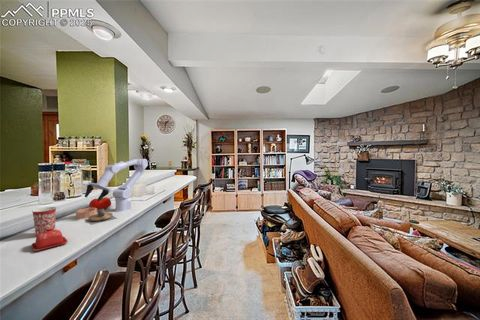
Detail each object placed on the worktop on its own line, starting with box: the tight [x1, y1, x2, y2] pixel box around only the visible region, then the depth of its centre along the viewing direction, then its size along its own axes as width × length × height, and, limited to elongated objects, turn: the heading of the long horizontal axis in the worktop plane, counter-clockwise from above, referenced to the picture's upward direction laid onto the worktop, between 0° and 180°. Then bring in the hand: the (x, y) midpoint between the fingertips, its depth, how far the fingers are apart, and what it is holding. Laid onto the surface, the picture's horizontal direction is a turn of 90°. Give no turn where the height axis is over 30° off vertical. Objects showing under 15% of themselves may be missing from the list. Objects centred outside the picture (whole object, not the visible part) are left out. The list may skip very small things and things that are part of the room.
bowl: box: [75, 207, 98, 220], centre depth 133 cm, size 11×11×4 cm
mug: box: [32, 206, 57, 237], centre depth 107 cm, size 13×9×14 cm
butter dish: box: [31, 227, 69, 252], centre depth 93 cm, size 12×12×8 cm
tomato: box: [88, 196, 112, 210], centre depth 150 cm, size 14×13×9 cm
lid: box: [88, 209, 114, 221], centre depth 127 cm, size 12×12×6 cm
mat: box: [83, 215, 118, 226], centre depth 127 cm, size 14×14×1 cm
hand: (91, 198), depth 126 cm, fingers open, 7 cm apart
